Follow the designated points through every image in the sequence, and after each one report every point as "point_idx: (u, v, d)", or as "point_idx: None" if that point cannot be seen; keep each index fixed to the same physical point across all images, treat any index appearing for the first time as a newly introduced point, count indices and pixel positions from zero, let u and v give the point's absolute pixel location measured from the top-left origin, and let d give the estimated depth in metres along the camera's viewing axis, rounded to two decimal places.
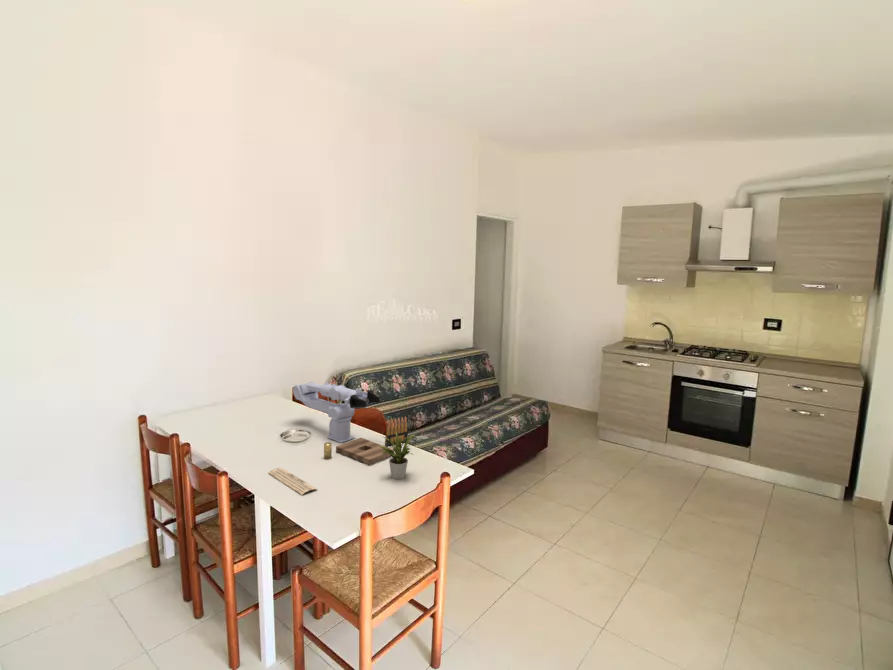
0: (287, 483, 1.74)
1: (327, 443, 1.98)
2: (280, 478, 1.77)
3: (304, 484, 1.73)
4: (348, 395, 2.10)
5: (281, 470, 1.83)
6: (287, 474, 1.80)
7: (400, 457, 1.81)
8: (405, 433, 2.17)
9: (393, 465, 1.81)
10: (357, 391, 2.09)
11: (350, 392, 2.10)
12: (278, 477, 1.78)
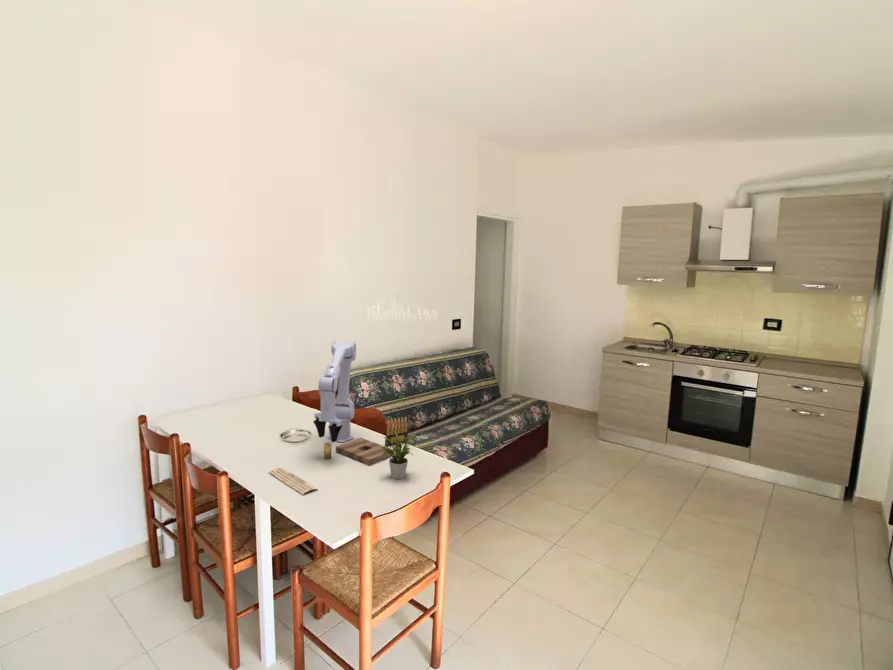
0: (288, 483, 1.74)
1: (327, 443, 1.98)
2: (281, 478, 1.77)
3: (305, 484, 1.73)
4: None
5: (282, 470, 1.83)
6: (287, 474, 1.80)
7: (400, 457, 1.81)
8: (405, 433, 2.17)
9: (393, 465, 1.81)
10: None
11: None
12: (279, 477, 1.78)
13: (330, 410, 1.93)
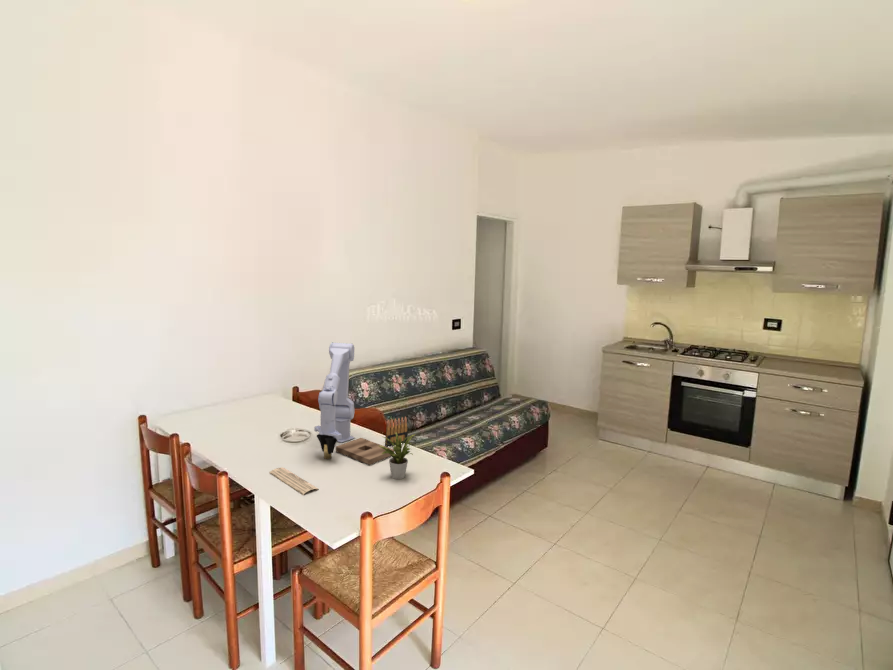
0: (288, 483, 1.74)
1: None
2: (281, 478, 1.77)
3: (305, 484, 1.73)
4: None
5: (282, 470, 1.83)
6: (288, 473, 1.80)
7: (400, 457, 1.81)
8: (405, 433, 2.17)
9: (393, 465, 1.81)
10: None
11: None
12: (279, 477, 1.78)
13: (330, 423, 1.94)
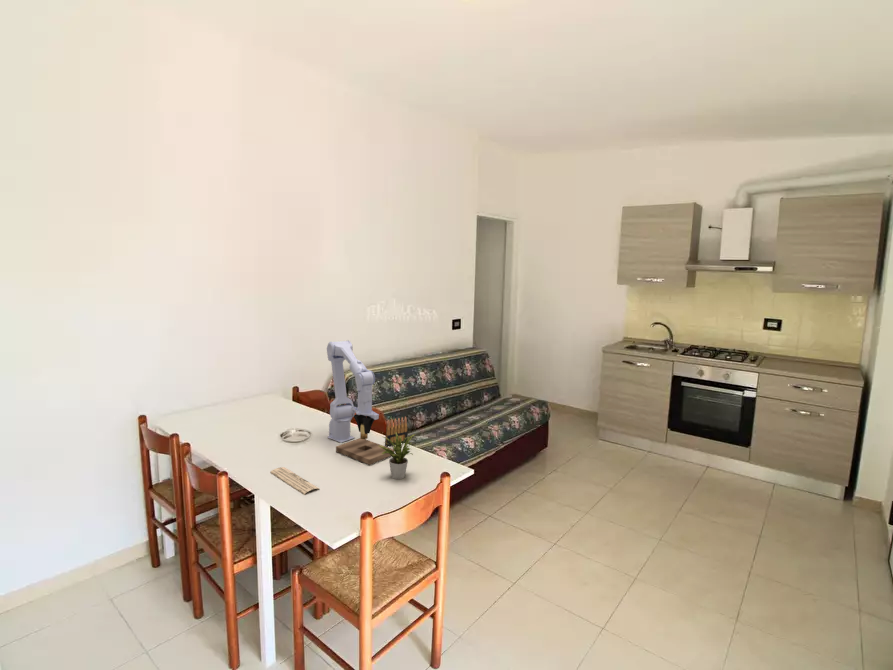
0: (289, 482, 1.74)
1: (363, 423, 2.02)
2: (282, 477, 1.78)
3: (306, 483, 1.73)
4: None
5: (283, 469, 1.84)
6: (289, 473, 1.81)
7: (400, 457, 1.81)
8: (405, 433, 2.17)
9: (393, 465, 1.81)
10: None
11: None
12: (280, 476, 1.79)
13: (367, 404, 1.98)
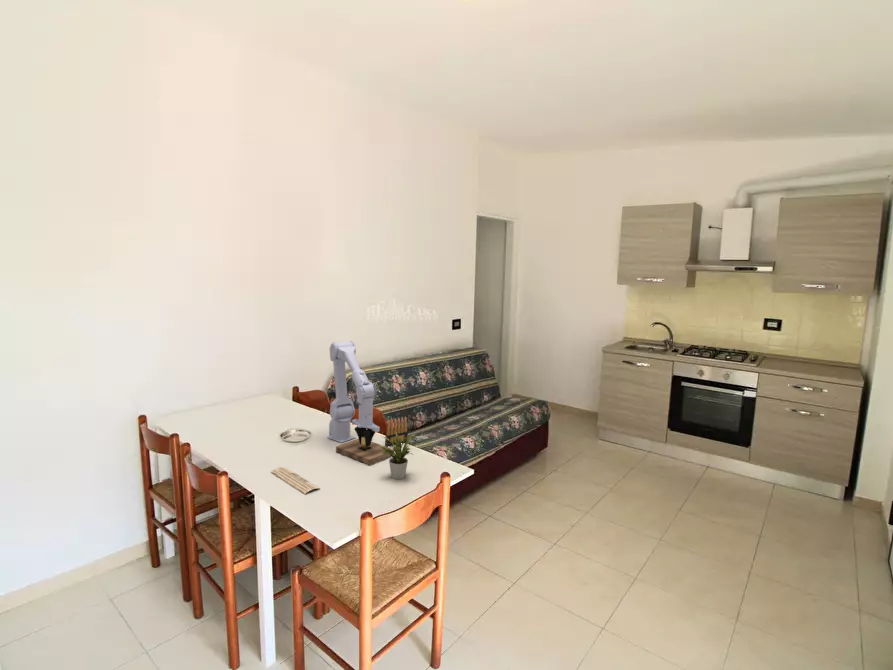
0: (290, 482, 1.74)
1: (364, 436, 2.03)
2: (283, 477, 1.78)
3: (307, 483, 1.73)
4: None
5: (284, 469, 1.84)
6: (289, 473, 1.81)
7: (400, 457, 1.81)
8: (405, 433, 2.17)
9: (393, 465, 1.81)
10: None
11: None
12: (281, 476, 1.79)
13: (368, 416, 1.99)
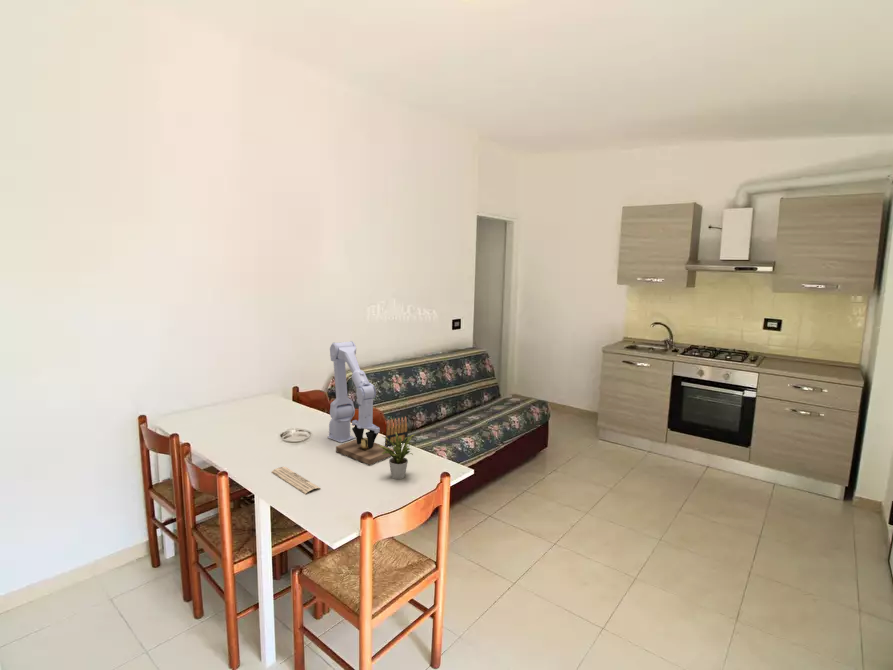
0: (291, 482, 1.75)
1: (364, 438, 2.03)
2: (284, 477, 1.78)
3: (307, 483, 1.74)
4: None
5: (284, 469, 1.84)
6: (290, 473, 1.81)
7: (400, 457, 1.81)
8: (405, 433, 2.17)
9: (393, 465, 1.81)
10: None
11: None
12: (282, 476, 1.79)
13: (368, 417, 1.99)
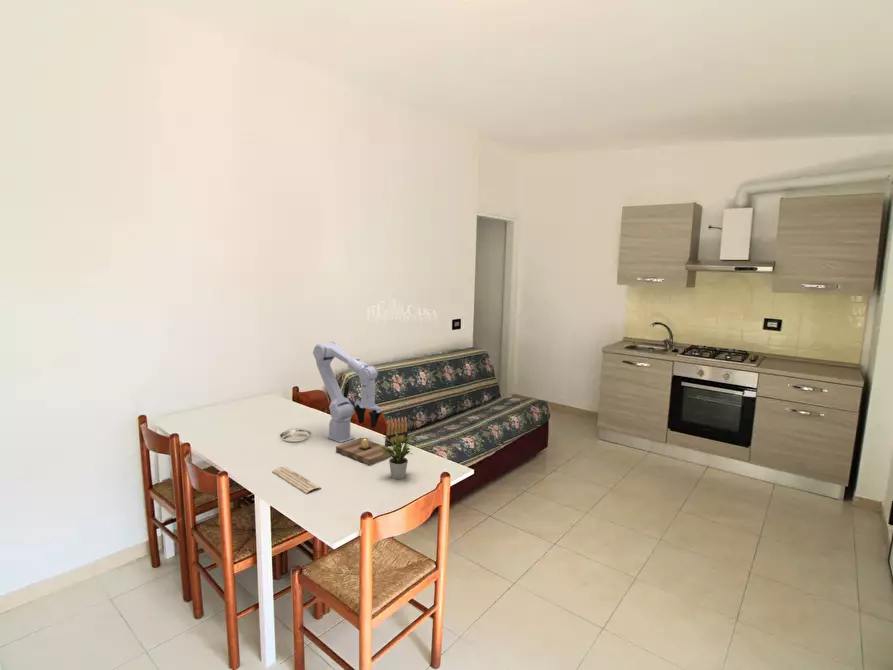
0: (291, 482, 1.75)
1: (364, 438, 2.03)
2: (284, 477, 1.78)
3: (308, 483, 1.74)
4: None
5: (285, 469, 1.84)
6: (291, 473, 1.81)
7: (400, 457, 1.81)
8: (405, 433, 2.17)
9: (393, 465, 1.81)
10: None
11: (361, 398, 2.09)
12: (282, 476, 1.79)
13: (370, 398, 2.07)
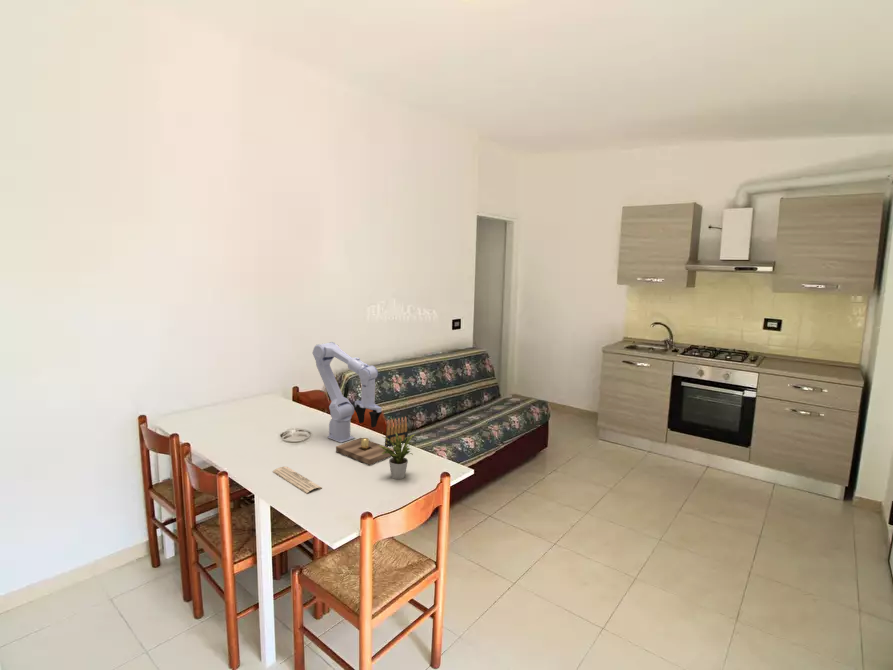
0: (292, 481, 1.75)
1: (364, 438, 2.03)
2: (285, 476, 1.78)
3: (309, 482, 1.74)
4: None
5: (286, 469, 1.84)
6: (291, 472, 1.81)
7: (400, 457, 1.81)
8: (405, 433, 2.17)
9: (393, 465, 1.81)
10: None
11: (361, 398, 2.09)
12: (283, 475, 1.79)
13: (370, 397, 2.07)
